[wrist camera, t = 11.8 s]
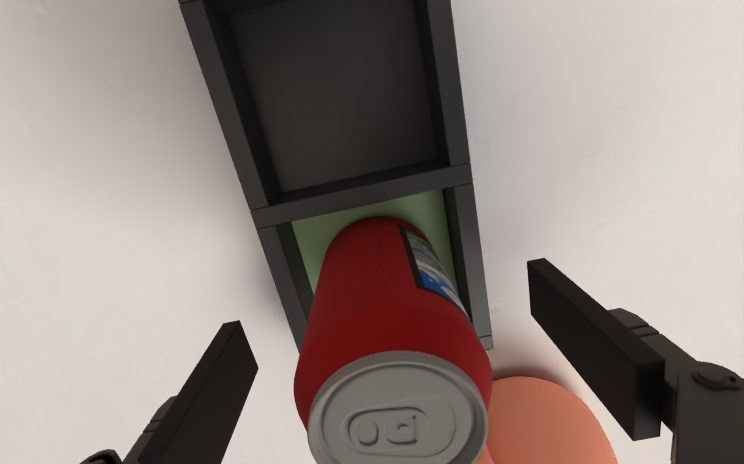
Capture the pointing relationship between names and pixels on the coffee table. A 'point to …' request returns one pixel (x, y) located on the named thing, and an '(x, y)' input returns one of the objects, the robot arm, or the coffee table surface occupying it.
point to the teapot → (541, 426)
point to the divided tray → (343, 131)
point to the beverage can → (390, 355)
